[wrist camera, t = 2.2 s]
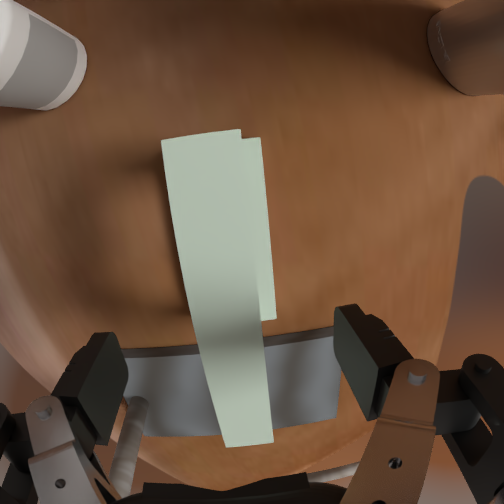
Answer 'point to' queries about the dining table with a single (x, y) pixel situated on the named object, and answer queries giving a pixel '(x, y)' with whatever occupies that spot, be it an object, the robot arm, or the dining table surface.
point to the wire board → (200, 402)
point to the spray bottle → (37, 60)
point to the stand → (226, 271)
